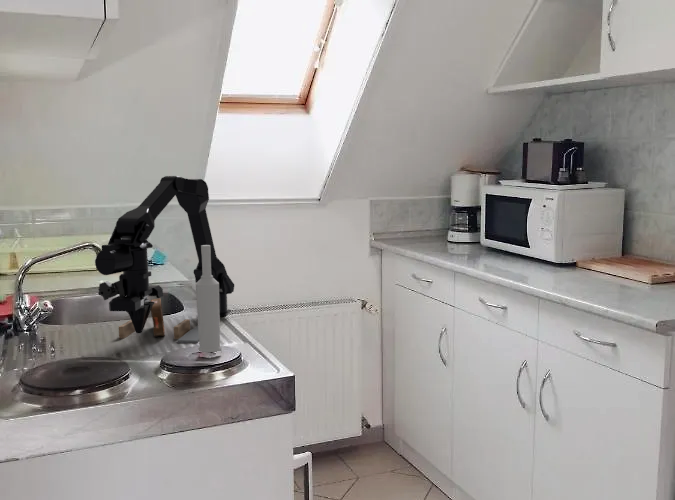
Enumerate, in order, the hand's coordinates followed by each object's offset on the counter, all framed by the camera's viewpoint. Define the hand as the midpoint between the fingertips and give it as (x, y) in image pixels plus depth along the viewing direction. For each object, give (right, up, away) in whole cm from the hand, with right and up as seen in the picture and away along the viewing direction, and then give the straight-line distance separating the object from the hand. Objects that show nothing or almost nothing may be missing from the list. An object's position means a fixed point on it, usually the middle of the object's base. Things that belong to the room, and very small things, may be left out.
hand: (139, 333), depth 167 cm
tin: (+1, -2, +13) cm, 13 cm away
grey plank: (+12, -2, +10) cm, 16 cm away
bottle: (+19, -4, -10) cm, 22 cm away
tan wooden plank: (+1, -2, +11) cm, 11 cm away
